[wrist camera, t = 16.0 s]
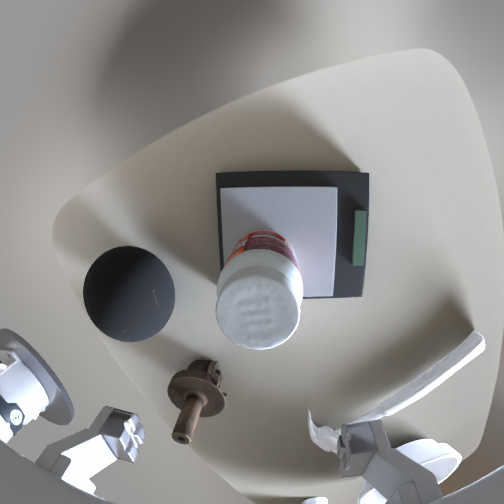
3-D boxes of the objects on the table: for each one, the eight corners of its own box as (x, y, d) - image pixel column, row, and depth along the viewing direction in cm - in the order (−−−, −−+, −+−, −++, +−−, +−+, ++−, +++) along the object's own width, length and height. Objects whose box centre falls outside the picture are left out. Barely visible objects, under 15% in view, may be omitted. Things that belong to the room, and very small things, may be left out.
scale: (225, 291, 31) (221, 301, 29) (219, 173, 28) (214, 172, 25) (357, 289, 30) (363, 299, 27) (363, 172, 27) (371, 172, 24)
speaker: (203, 276, 31) (174, 319, 21) (158, 329, 33) (125, 376, 24) (138, 219, 30) (87, 238, 20) (101, 278, 32) (54, 310, 23)
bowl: (460, 436, 37) (472, 460, 29) (385, 486, 43) (391, 510, 35) (424, 412, 35) (440, 445, 27) (330, 472, 41) (334, 504, 33)
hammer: (295, 414, 36) (296, 429, 33) (467, 300, 29) (479, 309, 26) (332, 445, 38) (334, 458, 35) (480, 350, 31) (489, 360, 28)
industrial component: (215, 343, 33) (191, 412, 22) (242, 382, 35) (231, 452, 23) (159, 363, 35) (125, 423, 23) (187, 398, 36) (164, 459, 25)
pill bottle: (238, 222, 26) (213, 255, 16) (302, 236, 26) (320, 277, 15) (227, 282, 28) (200, 344, 17) (287, 294, 28) (293, 363, 17)
